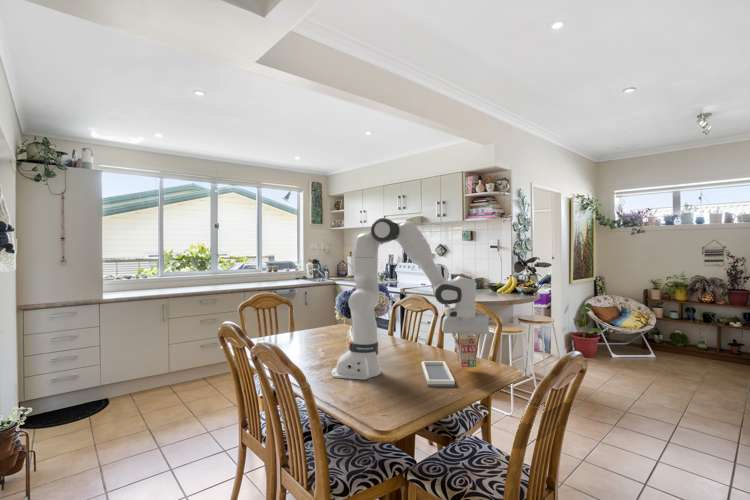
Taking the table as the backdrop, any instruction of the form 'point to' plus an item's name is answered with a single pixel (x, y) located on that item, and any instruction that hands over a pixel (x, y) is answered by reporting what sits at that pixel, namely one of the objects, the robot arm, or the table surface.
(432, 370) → the base plate
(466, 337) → the printed food box
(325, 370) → the table surface
